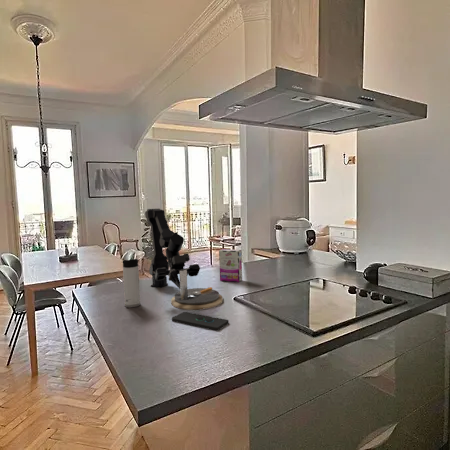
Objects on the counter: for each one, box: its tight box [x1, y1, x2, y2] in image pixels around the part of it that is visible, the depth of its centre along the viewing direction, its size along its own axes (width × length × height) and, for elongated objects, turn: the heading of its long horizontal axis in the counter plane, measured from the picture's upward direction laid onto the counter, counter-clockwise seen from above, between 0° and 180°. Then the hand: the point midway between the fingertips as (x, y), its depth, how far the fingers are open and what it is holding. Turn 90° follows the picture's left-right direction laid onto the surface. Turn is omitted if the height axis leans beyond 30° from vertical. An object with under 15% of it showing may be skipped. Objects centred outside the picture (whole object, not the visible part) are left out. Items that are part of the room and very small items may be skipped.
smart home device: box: [171, 311, 230, 331], centre depth 126 cm, size 8×2×20 cm
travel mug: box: [122, 258, 141, 308], centre depth 146 cm, size 6×7×20 cm
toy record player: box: [174, 270, 220, 305], centre depth 150 cm, size 20×19×14 cm
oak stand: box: [170, 293, 223, 311], centre depth 150 cm, size 22×22×1 cm
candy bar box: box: [218, 248, 243, 283], centre depth 183 cm, size 11×5×16 cm, turn 68°
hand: (182, 289), depth 145 cm, fingers closed, pressing on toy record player
